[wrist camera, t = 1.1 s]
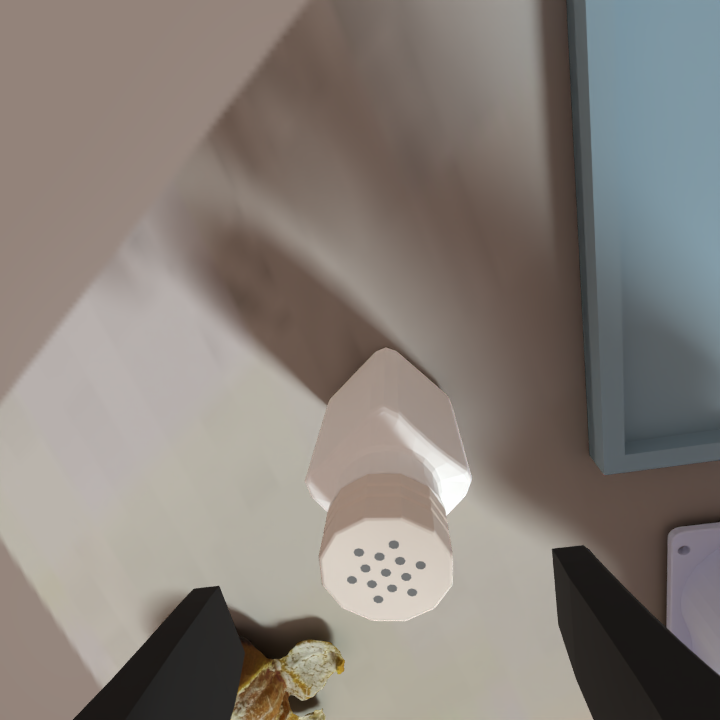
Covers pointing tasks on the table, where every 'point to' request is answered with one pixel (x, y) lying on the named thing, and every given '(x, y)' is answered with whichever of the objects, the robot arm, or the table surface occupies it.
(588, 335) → the tray
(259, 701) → the chicken drumstick
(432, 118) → the table surface
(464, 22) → the table surface
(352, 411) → the pepper shaker
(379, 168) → the table surface
